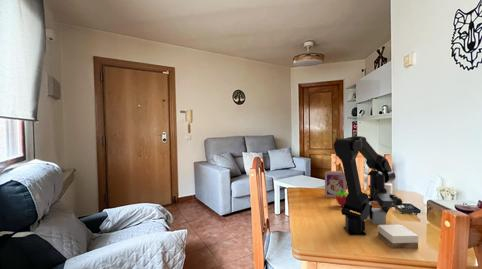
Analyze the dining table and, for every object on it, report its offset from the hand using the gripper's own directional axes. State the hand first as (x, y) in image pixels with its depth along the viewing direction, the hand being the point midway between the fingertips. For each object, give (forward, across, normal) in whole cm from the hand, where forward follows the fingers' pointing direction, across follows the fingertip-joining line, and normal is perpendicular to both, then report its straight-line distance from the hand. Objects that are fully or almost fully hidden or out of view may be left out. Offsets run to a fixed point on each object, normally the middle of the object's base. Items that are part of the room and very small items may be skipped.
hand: (376, 219), depth 104 cm
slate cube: (+1, 0, 0) cm, 1 cm away
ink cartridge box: (+1, +14, +22) cm, 26 cm away
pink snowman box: (+1, -6, +36) cm, 37 cm away
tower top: (-1, -2, -18) cm, 18 cm away
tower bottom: (+2, -2, -18) cm, 18 cm away
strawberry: (+1, -8, +18) cm, 20 cm away
